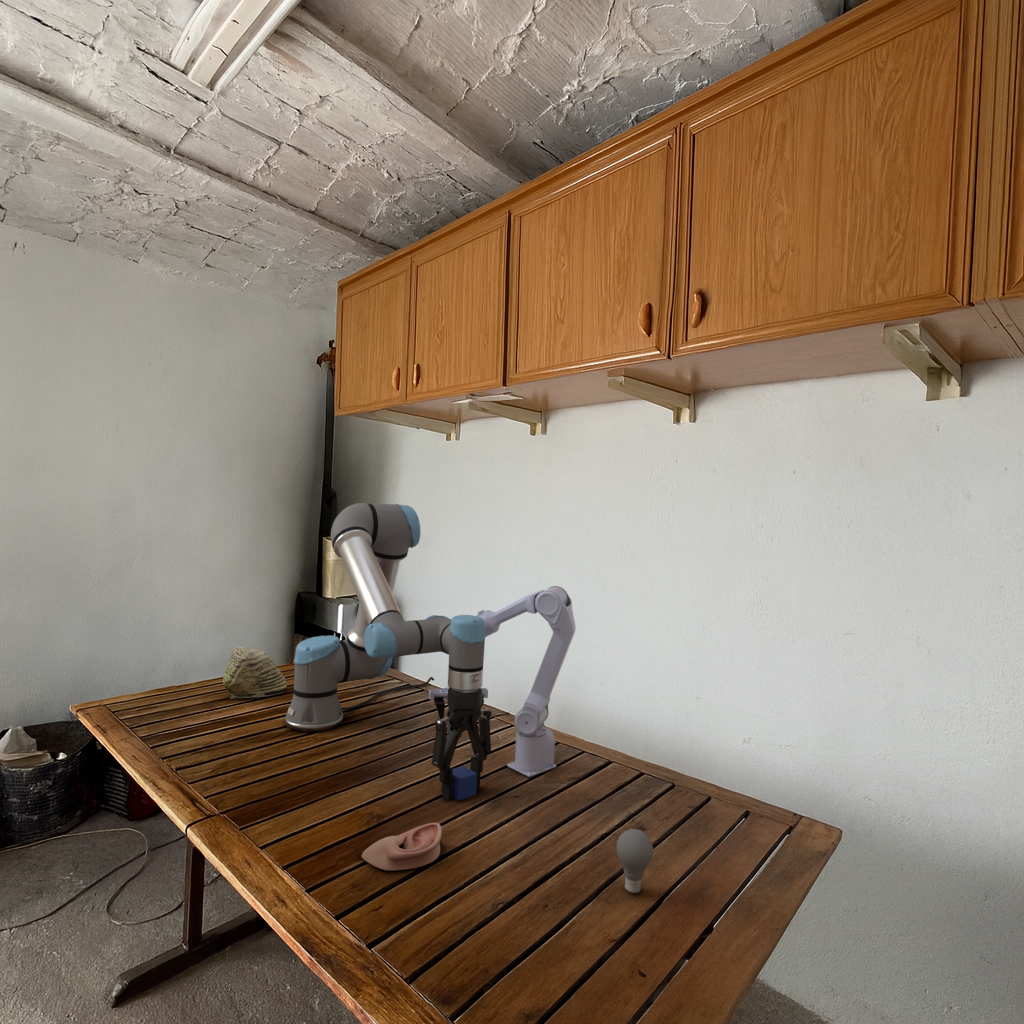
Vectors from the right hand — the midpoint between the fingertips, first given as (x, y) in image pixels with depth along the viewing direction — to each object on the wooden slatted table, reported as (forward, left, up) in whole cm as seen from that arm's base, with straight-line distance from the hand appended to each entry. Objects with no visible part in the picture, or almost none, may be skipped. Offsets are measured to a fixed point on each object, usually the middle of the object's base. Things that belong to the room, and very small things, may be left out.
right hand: (457, 726), depth 158 cm
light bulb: (+11, +62, -7) cm, 63 cm away
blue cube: (+12, +16, -7) cm, 22 cm away
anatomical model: (+35, +28, -7) cm, 46 cm away
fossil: (+21, -75, -7) cm, 78 cm away
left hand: (+12, +16, -7) cm, 21 cm away
